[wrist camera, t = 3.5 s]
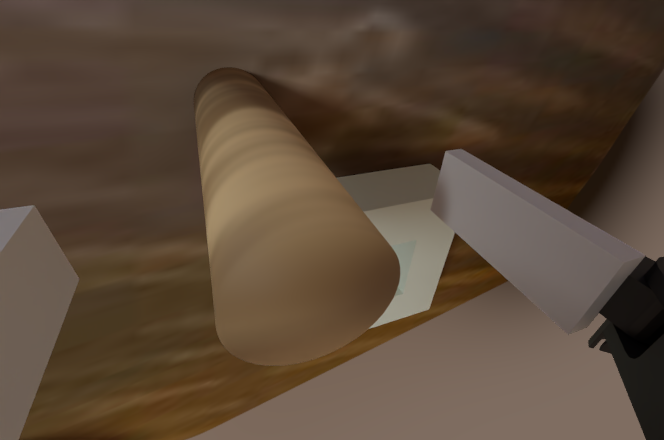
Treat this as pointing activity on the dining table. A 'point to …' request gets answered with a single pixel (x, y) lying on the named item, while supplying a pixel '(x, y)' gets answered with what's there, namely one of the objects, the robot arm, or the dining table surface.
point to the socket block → (406, 230)
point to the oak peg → (282, 232)
